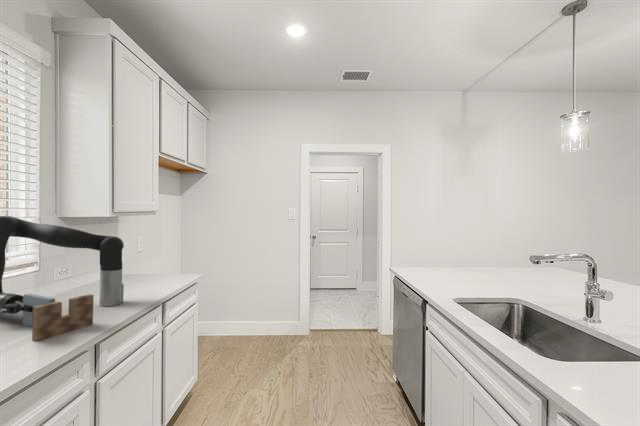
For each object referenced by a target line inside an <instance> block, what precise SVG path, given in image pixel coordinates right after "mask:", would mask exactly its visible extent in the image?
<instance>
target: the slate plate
mask: <svg viewBox="0 0 640 426" xmlns="http://www.w3.org/2000/svg"><path fill="white" fill-rule="evenodd" d="M22 296H23V304H24V305H28V306H32V307H34V306H39V305H43V304H48V303H52V302H56V298H54V297H49V296H43V295H39V294H32V293H25V294H23V295H22ZM22 325H23V326H26V327H30V328H33V312H26V311H24V312H22Z"/></svg>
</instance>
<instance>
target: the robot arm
mask: <svg viewBox="0 0 640 426" xmlns="http://www.w3.org/2000/svg"><path fill="white" fill-rule="evenodd" d="M10 237H15V238H24V239H25V238H26V239H32V240H35V241H37V242H40V243H43V244H45V245H46V244H47V245H51V246H55V247H60V248H61V247H62V248H68V249H69V248H70V249H89V250H94V251H99V266H100V270H99V271H100V272H99V274H100V275H99V302H98V303H99V306H100V307H115V306H118V305H121V304H122V303H124V287H125V286H124V283H123V250H124V246H125V244H124V241H123V240H122V239H121V238H120V237H119V236H113V235H112V236H111V235H103V234H101V235H100V234H95V233H90V232H87V231H83V230H80V229H75V228H72V227H66V226H61V225H55V224H47V223H36V222H31V221H28V220H24V219H20V218H18V217H14V216H12V215H11V216H10V215H0V313H1V314H11V315H12V314H13V315H14V314H18V313H21V312H22V313H23V312H24V311H26V312H33V307H32V306H28V305H24V304H23V295H21V294H17V293H11V292H8V293H7V292H4V291H3V276H4V273H5V268H6V267H5V266H6V248H7V243H8V241H9V239H10Z"/></svg>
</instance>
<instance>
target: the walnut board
mask: <svg viewBox="0 0 640 426" xmlns="http://www.w3.org/2000/svg"><path fill="white" fill-rule="evenodd" d="M94 297H95V296H94V294H90V293H89V294H84V295H79V296H76V297H71V298H68V314H66V315H63V312H62V311H63V310H62V309H63V301H62V302H61V301H55V302H52V303H48V304H43V305H39V306H34V307H33V327H32V333H31V336H32V338H31V341H33V342H39V341H43V340H46V339H49V338H53V337H56V336H60V335H63V334H65V333H69V332H72V331H75V330H79V329H82V328H85V327H88V326H92V325H93V323H94Z"/></svg>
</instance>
